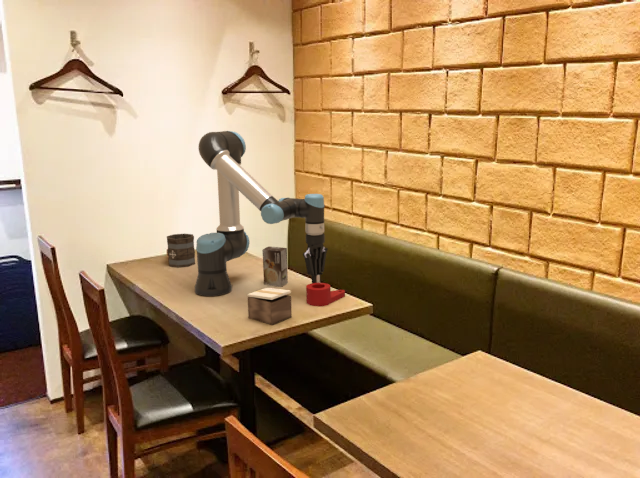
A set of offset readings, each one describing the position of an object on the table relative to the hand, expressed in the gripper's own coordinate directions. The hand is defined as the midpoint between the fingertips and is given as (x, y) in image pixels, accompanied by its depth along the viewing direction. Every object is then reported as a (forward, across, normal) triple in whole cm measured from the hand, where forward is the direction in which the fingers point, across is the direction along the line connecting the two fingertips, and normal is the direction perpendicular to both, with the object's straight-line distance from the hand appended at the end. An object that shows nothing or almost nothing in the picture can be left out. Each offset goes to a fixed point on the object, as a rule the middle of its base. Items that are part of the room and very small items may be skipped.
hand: (316, 290), depth 229 cm
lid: (-6, -30, +3) cm, 31 cm away
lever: (+3, -2, -7) cm, 7 cm away
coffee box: (+2, +1, +23) cm, 24 cm away
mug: (+2, -5, +83) cm, 83 cm away
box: (+2, -30, -3) cm, 30 cm away
